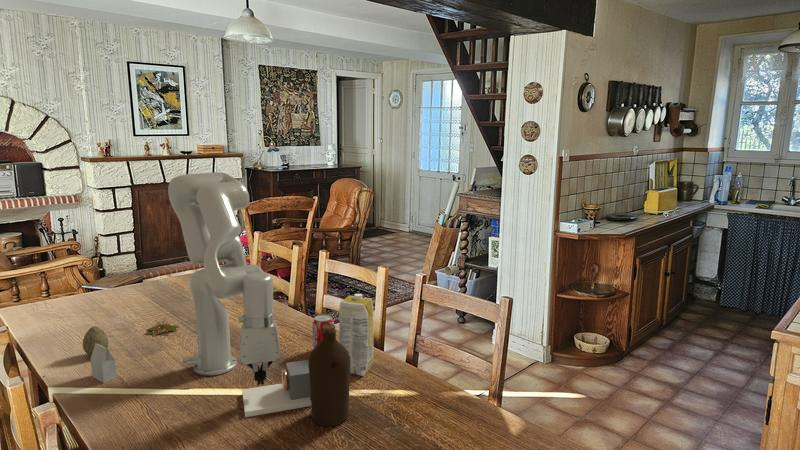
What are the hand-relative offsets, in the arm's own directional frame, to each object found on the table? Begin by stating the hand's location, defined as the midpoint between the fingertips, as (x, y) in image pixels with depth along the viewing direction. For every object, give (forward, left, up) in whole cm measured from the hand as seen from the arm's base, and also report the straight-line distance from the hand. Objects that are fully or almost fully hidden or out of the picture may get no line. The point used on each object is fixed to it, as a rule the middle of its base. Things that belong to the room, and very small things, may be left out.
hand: (260, 382), depth 141 cm
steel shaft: (+13, -1, -3) cm, 14 cm away
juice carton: (+29, +9, -6) cm, 31 cm away
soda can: (+22, +25, -6) cm, 34 cm away
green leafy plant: (-30, +61, -6) cm, 68 cm away
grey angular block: (-43, +28, -6) cm, 51 cm away
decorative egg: (-48, +45, -6) cm, 66 cm away
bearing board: (+9, -1, -5) cm, 11 cm away
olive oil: (+16, -14, -6) cm, 22 cm away
